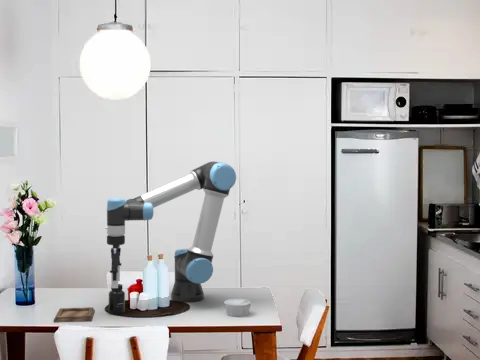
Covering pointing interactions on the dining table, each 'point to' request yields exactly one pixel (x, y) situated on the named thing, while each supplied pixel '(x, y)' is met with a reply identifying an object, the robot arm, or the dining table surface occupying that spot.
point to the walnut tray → (74, 314)
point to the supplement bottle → (117, 300)
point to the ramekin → (237, 307)
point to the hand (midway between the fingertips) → (115, 284)
